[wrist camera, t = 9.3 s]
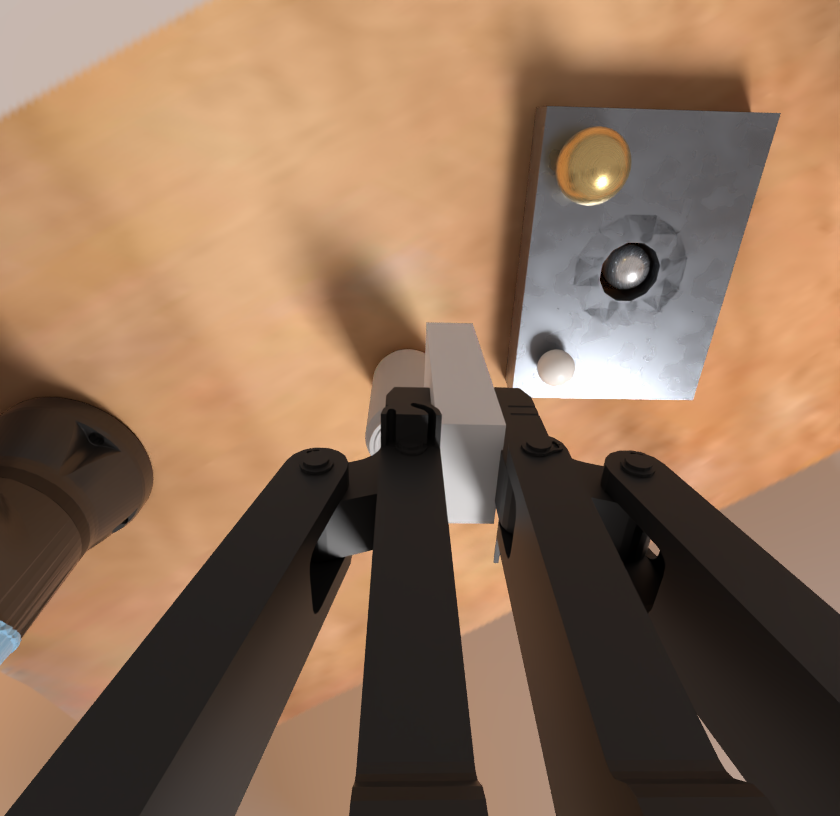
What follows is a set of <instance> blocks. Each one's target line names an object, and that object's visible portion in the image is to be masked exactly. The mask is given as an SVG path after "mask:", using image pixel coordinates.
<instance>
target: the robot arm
mask: <svg viewBox="0 0 840 816" xmlns="http://www.w3.org/2000/svg"><path fill="white" fill-rule="evenodd" d="M152 486H153V471H152V466H151V463H150V460H149V457H148V455H147V453H146V451H145V449H144V448H143V446H142V445H141V443H140V442H139V440H138V439H137V438H136V437H135V436H134V434H133V433H132V432H131V431H130V430H129V429H128V428H127V427H125V426H124V425H123V424H122V423H121V422H119V421H118V420H117V419H115V418H114V417H112V416H111V415H109V414H107V413H106V412H104V411H102V410H100V409H98V408H96V407H93V406H91V405H88V404H85V403H83V402H79V401H75V400H71V399H66V398H57V397H43V398H35V399H30V400H27V401H23V402H21V403H19V404H17V405H15V406H13V407H11V408H10V409H8V410H7V411H6V412H4V413H3V414H2V415H0V665H1V664H2V662H3V661H4V660H5V659H6V658H7V657H8V656H9V654H10V653H12V652H14V650H15V649H17V647H18V646H19V644H20V641H21V638H22V637H23V636H24V634H25V633H26V632H27V630H28V629H29V628H30V626H31V625H32V623H33V622H34V621H35V619H36V618H37V617H38V615H39V614H40V613H41V611H42V610H43V609H44V607H45V606H46V605H47V603H48V602H49V601H50V599H51V598H52V597H53V595H54V594H55V593H56V591H57V590H58V589H59V587H60V586H61V585H62V583H63V582H64V581H65V579H66V578H67V577H68V575H69V574H70V572H71V571H72V570H73V568H74V567H75V566H76V564H77V563H78V561H79V560H80V559H81V558H82V556H83V555H84V554H85V552H86V551H88V550H89V549H91V548H92V547H94V546H95V545H97V544H98V543H100V542H101V541H103V540H104V539H106V538H107V537H109V536H110V535H111V534H112V533H114V532H116V531H118V530H120V529H121V528H123V527H124V526H126V525H127V524H128V523H129V522H131V521H132V520H133V519H134V518H135V516H136V515H137V514H138V513H139V511H140V510H141V508H142V507H143V505H144V504H145V503H146V501H147V499H148V498H149V496H150V493H151V490H152ZM495 509H497V513H498V517H499V522H498V530H497V538H496V545H495V553H494V563H498V561H499V556H500V555H501V560H502V565H503V569H504V574H505V579H506V583H507V588H508V593H509V597H510V602H511V607H512V611H513V616H514V621H515V625H516V630H517V635H518V639H519V644H520V649H521V653H522V658H523V663H524V668H525V672H526V677H527V682H528V686H529V691H530V696H531V700H532V705H533V710H534V714H535V719H536V724H537V729H538V733H539V738H540V743H541V747H542V752H543V757H544V761H545V766H546V770H547V775H548V780H549V785H550V789H551V794H552V799H553V803H554V808H555V813H556V816H840V614H839V613H838V612H836V611H835V610H834V609H833V608H832V607H831V606H829V605H828V604H827V603H826V602H825V601H824V600H822V599H821V598H820V597H819V596H818V595H817V594H815V593H814V592H813V591H812V590H811V589H810V588H808V587H807V586H806V585H805V584H804V583H802V582H801V581H800V580H799V579H798V578H797V577H796V576H794V575H793V574H792V573H791V572H790V571H788V570H787V569H786V568H785V567H784V566H783V565H782V564H780V563H779V562H778V561H777V560H776V559H774V558H773V557H772V556H771V555H770V554H769V553H767V552H766V551H765V550H764V549H763V548H762V547H760V546H759V545H758V544H757V543H756V542H755V541H753V540H752V539H751V538H750V537H749V536H748V535H746V534H745V533H744V532H743V531H742V530H741V529H739V528H738V527H737V526H736V525H735V524H734V523H732V522H731V521H730V520H729V519H728V518H726V517H725V516H724V515H723V514H722V513H721V512H720V511H718V510H717V509H716V508H715V507H714V506H713V505H711V504H710V503H709V502H708V501H707V500H706V499H704V498H703V497H702V496H701V495H700V494H699V493H697V492H696V491H695V490H694V489H693V488H692V487H690V486H689V485H688V484H687V483H686V482H685V481H683V480H682V479H681V478H680V477H679V476H678V475H676V474H675V473H674V472H673V471H672V470H671V469H669V468H668V467H667V466H666V465H665V464H663V463H662V462H660V461H659V460H657V459H656V458H654V457H652V456H649V455H646V454H645V453H642V452H638V451H637V452H636V451H617V452H613V453H610V454H609V455H608V456H607V457H606V459H605V463H604V466H600V465H595V464H590V463H585V462H581V461H577V460H574V459H572V458H571V456H570V454H569V451H568V449H567V448H566V447H565V446H564V444H563V443H562V442H560V441H558V440H556V439H555V438H553V437H550V436H548V434H547V431H546V429H545V427H544V425H543V423H542V420H541V418H540V416H538V412H537V409H536V408H535V405H534V403H533V401H532V398H531V396H529V395H528V394H527V393H526V392H524V391H523V390H522V389H520V388H498V387H493V384H492V381H491V378H490V375H489V372H488V369H487V366H486V363H485V360H484V357H483V354H482V351H481V348H480V345H479V341H478V338H477V335H476V332H475V329H474V326H473V323H429V322H426V348H425V373H424V387H394V388H393V389H392V390H391V391H390V392H389V393H388V394H387V395H386V404H385V408H383V410H382V412H381V448H380V449H379V450H378V452H376V453H375V454H373V455H372V456H370V457H367V458H365V459H362V460H358V461H353V462H348V461H347V459H346V457H345V455H343V454H342V453H340V452H339V451H336V450H333V449H329V448H312V449H311V448H310V449H306V450H303V451H300V452H298V453H295V454H294V455H292V456H291V457H290V458H289V459H288V460H287V461H286V462H285V463H284V464H283V466H282V467H281V468H280V469H279V471H278V472H277V473H276V474H275V476H274V477H273V478H272V480H271V481H270V482H269V483H268V485H267V486H266V487H265V488H264V490H263V491H262V492H261V493H260V495H259V496H258V497H257V498H256V500H255V501H254V502H253V503H252V505H251V506H250V507H249V508H248V510H247V511H246V512H245V513H244V515H243V516H242V517H241V519H240V520H239V521H238V522H237V524H236V525H235V526H234V527H233V529H232V530H231V531H230V532H229V534H228V535H227V536H226V537H225V539H224V540H223V541H222V542H221V544H220V545H219V546H218V547H217V549H216V550H215V551H214V552H213V554H212V555H211V556H210V558H209V559H208V560H207V561H206V563H205V564H204V565H203V566H202V568H201V569H200V570H199V571H198V573H197V574H196V575H195V576H194V578H193V579H192V580H191V581H190V583H189V584H188V585H187V586H186V588H185V589H184V590H183V592H182V593H181V594H180V595H179V597H178V598H177V599H176V600H175V602H174V603H173V604H172V605H171V607H170V608H169V609H168V610H167V612H166V613H165V614H164V615H163V617H162V618H161V619H160V620H159V622H158V623H157V624H156V625H155V627H154V628H153V629H152V631H151V632H150V633H149V634H148V636H147V637H146V638H145V639H144V641H143V642H142V643H141V644H140V646H139V647H138V648H137V649H136V651H135V652H134V653H133V654H132V656H131V657H130V658H129V659H128V661H127V662H126V663H125V664H124V666H123V667H122V668H121V670H120V671H119V672H118V673H117V675H116V676H115V677H114V678H113V680H112V681H111V682H110V683H109V685H108V686H107V687H106V688H105V690H104V691H103V692H102V693H101V695H100V696H99V697H98V698H97V700H96V701H95V702H94V703H93V705H92V706H91V707H90V709H89V710H88V711H87V712H86V714H85V715H84V716H83V717H82V719H81V720H80V721H79V722H78V724H77V725H76V726H75V727H74V729H73V730H72V731H71V732H70V734H69V735H68V736H67V738H66V739H65V740H64V742H63V743H62V744H61V745H60V746H59V748H58V749H57V750H56V751H55V753H54V754H53V755H52V756H51V758H50V759H49V760H48V762H47V763H46V764H45V765H44V766H43V768H42V769H41V770H40V772H39V773H38V774H37V775H36V777H35V778H34V779H33V780H32V782H31V783H30V784H29V785H28V787H27V788H26V789H25V790H24V792H23V793H22V794H21V795H20V797H19V798H18V799H17V800H16V802H15V803H14V804H13V805H12V807H11V808H10V809H9V810H8V812H7V813H6V814H5V816H235V814H236V812H237V810H238V807H239V805H240V803H241V801H242V799H243V797H244V794H245V792H246V790H247V788H248V786H249V784H250V781H251V779H252V777H253V775H254V773H255V770H256V768H257V766H258V764H259V762H260V760H261V757H262V755H263V753H264V751H265V749H266V747H267V744H268V742H269V740H270V738H271V736H272V733H273V731H274V729H275V727H276V725H277V723H278V720H279V718H280V716H281V714H282V712H283V710H284V707H285V705H286V703H287V701H288V699H289V696H290V694H291V692H292V690H293V688H294V686H295V683H296V681H297V679H298V677H299V675H300V673H301V670H302V668H303V666H304V664H305V662H306V659H307V657H308V655H309V653H310V651H311V649H312V646H313V644H314V642H315V640H316V638H317V636H318V633H319V631H320V629H321V627H322V625H323V622H324V620H325V618H326V616H327V614H328V612H329V609H330V607H331V605H332V603H333V601H334V598H335V596H336V594H337V592H338V590H339V588H340V585H341V583H342V581H343V579H344V577H345V575H346V572H347V570H348V568H349V566H350V563H351V558H352V555H354V554H358V553H362V552H366V551H370V550H373V555H372V569H371V582H370V595H369V609H368V622H367V635H366V649H365V662H364V675H363V689H362V703H361V716H360V729H359V743H358V756H357V768H356V777H355V783H354V785H353V788H352V795H351V803H350V813H349V816H488V812H487V805H486V799H485V795H484V791H483V787H482V785H481V784H480V783H479V781H478V780H477V776H476V771H475V763H474V755H473V745H472V738H471V737H472V736H471V727H470V718H469V709H468V700H467V690H466V681H465V672H464V663H463V654H462V645H461V635H460V626H459V617H458V607H457V598H456V589H455V580H454V571H453V561H452V552H451V543H450V534H449V525H448V523H489V524H494V517H495ZM650 540H652V541H653V542H654V543H655V544H656V545H657V547H658V548H659V550H660V552H659V555H658V556H656V555H655V554H654V553H653V552H652V551H651V550H650V549H649V548H648V546H649V543H650ZM698 716H699V717H700V719H701V720H702V721H703V723H704V724H705V726H706V727H707V728H708V730H709V731H710V732H711V734H712V735H713V737H714V738H715V739H716V741H717V742H718V743H719V745H720V746H721V747H722V749H723V750H724V752H725V753H726V754H727V756H728V757H729V758H730V760H731V761H732V762H733V764H734V765H735V766H736V768H737V769H738V771H739V772H740V773H741V775H742V776H743V778H744V779H745V780H746V782H744V781H740V780H737V779H734V778H733V777H732V776H730V775H729V773H728V772H726V770H725V769H724V767H723V765H722V764H721V762H720V760H719V759H718V757H717V754H716V752H715V750H714V748H713V746H712V744H711V742H710V740H709V738H708V736H707V734H706V732H705V730H704V728H703V726H702V724H701V722H700V720H699V718H698Z"/></svg>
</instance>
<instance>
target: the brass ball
mask: <svg viewBox="0 0 840 816" xmlns="http://www.w3.org/2000/svg"><path fill="white" fill-rule="evenodd" d="M631 160H632V159H631V152H630V148H629V146H628V144H627V142H626V140H625V139H624V138H623V137H622V136H621V135H620V134H619V133H618V132H617V131H615V130H613V129H611V128H607V127H603V126H594V127H589V128H586V129H583V130H581V131H579V132H577V133H576V134H574V135H573V136H572V137H571V138H570V139H569V140H568V141H567V142H566V143H565V145H564V146H563V147H562V149H561V151H560V153H559V155H558V158H557V162H556V180H557V183H558V186H559V188H560V190H561V191H562V193H563V194H564V195H565V196H566V197H567V198H568V199H569V200H571V201H572V202H574V203H577V204H580V205H586V206H591V205H597V204H601V203H604V202H606V201H608V200H609V199H611V198H612V197H614V196H615V195H616V194H617V193H618V192H619V191H620V190H621V189H622V187H623V186H624V184H625V183H626V181H627V179H628V177H629V174H630V170H631Z"/></svg>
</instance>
